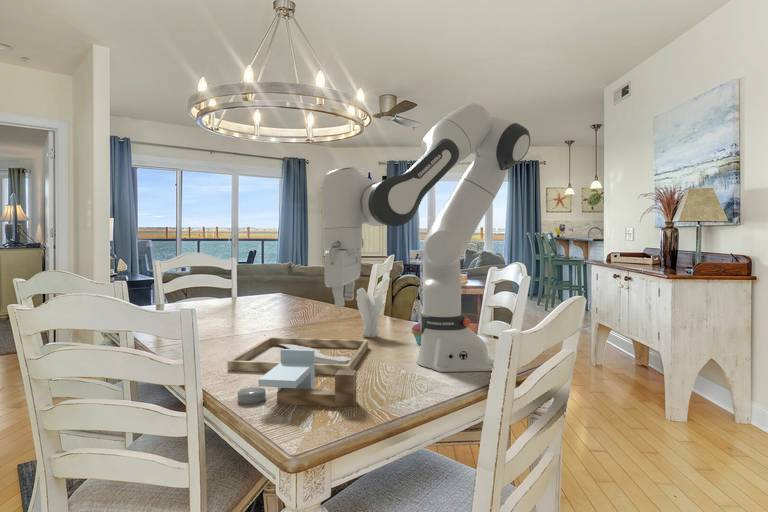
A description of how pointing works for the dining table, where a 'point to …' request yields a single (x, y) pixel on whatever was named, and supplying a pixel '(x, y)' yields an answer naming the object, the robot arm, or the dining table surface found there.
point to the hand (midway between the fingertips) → (344, 303)
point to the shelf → (292, 371)
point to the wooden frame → (243, 365)
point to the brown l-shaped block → (324, 393)
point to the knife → (320, 355)
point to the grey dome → (251, 395)
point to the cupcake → (417, 331)
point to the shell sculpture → (369, 311)
